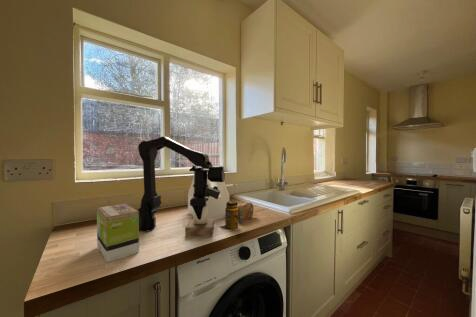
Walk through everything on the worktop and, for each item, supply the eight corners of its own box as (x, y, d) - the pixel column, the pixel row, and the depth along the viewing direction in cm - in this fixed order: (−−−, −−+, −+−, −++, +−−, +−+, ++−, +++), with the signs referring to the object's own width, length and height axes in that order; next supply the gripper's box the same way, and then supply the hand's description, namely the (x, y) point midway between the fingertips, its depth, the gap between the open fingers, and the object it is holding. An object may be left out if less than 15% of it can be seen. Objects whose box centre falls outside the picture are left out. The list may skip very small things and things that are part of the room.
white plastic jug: (188, 213, 119) (188, 170, 119) (210, 209, 129) (210, 169, 129) (205, 221, 104) (205, 172, 104) (229, 216, 114) (229, 171, 114)
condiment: (241, 228, 95) (242, 202, 95) (226, 232, 90) (226, 204, 90) (233, 224, 101) (233, 199, 101) (218, 227, 96) (218, 201, 96)
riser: (185, 237, 84) (185, 227, 84) (190, 227, 95) (190, 219, 95) (212, 236, 85) (212, 227, 84) (213, 227, 96) (213, 219, 95)
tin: (239, 224, 101) (240, 207, 101) (234, 223, 102) (234, 206, 102) (253, 216, 113) (254, 201, 113) (248, 215, 115) (249, 200, 115)
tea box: (96, 247, 74) (96, 206, 74) (126, 239, 81) (126, 202, 81) (106, 263, 63) (106, 215, 63) (140, 253, 70) (140, 210, 70)
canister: (192, 224, 86) (192, 206, 86) (194, 219, 92) (194, 202, 92) (206, 224, 87) (206, 206, 87) (208, 219, 93) (208, 202, 93)
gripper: (218, 184, 81) (218, 224, 81) (219, 179, 99) (219, 211, 99) (189, 184, 80) (189, 224, 80) (196, 179, 99) (196, 211, 99)
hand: (200, 217), depth 90 cm, fingers closed on canister, 6 cm apart
